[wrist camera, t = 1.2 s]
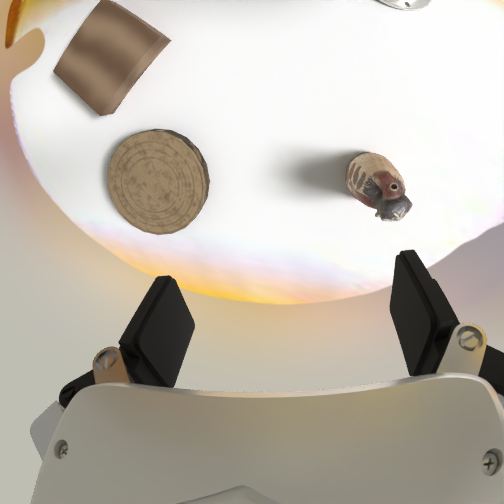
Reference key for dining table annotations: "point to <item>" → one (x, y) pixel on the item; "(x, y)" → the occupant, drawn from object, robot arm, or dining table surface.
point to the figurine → (378, 186)
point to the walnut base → (109, 56)
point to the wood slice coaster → (158, 181)
